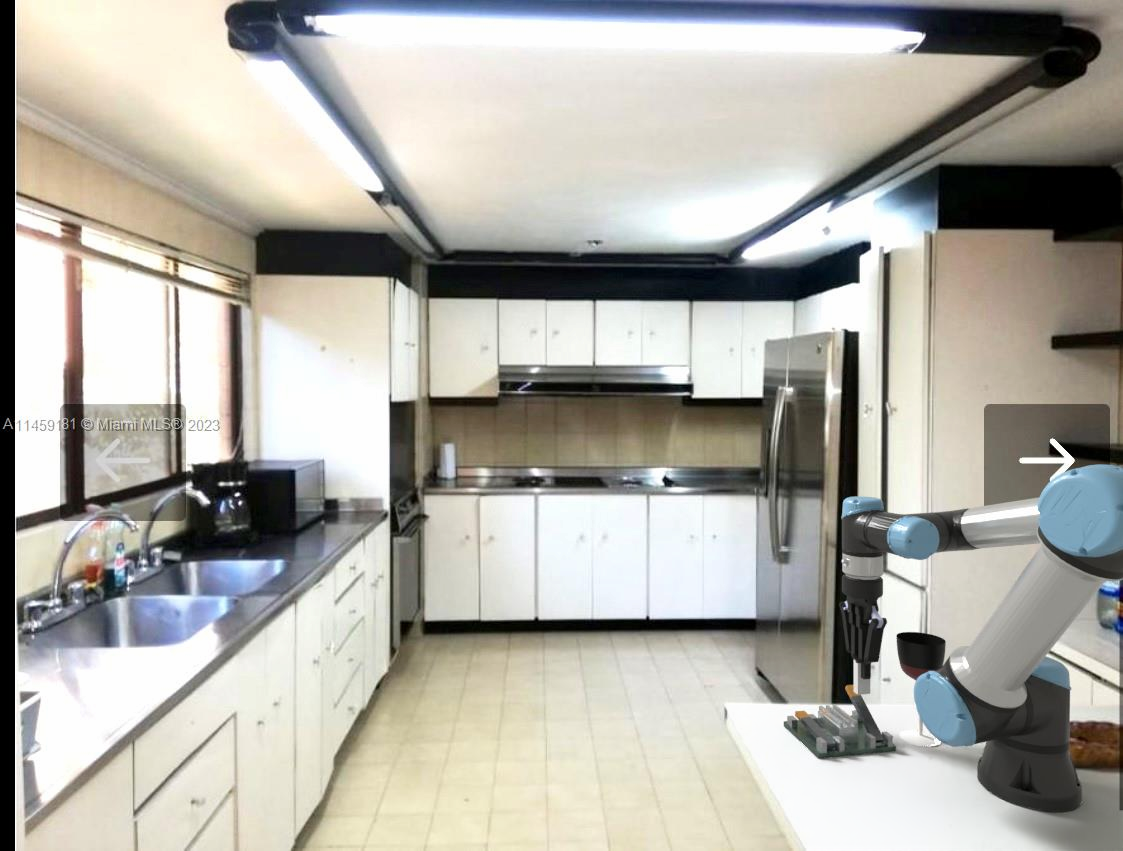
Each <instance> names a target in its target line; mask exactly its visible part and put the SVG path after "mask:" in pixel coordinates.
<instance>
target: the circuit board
mask: <svg viewBox="0 0 1123 851" xmlns="http://www.w3.org/2000/svg"><path fill="white" fill-rule="evenodd" d="M807 714H808V715H809V716H810V717H811V718H812V719H813V720H814V721H815V722H816V723H817V724H818V725H819V726H820V727H821V728H822V730H823V731H824V732H825V733H826V734H827V735H828V736H829V737H830V738H831V739H832V740H833V741H834V742H835V748H830V749H827V742H826V741H825V740H824V739H823V738H821V737H820V738H815V737H814V736H813V735H812V734H811V733H810V732H809V731H808V729H807V728H806V727H805V726H804V725H803V724H802V723H801V722H800V721H799V720H798V719H797V717H796V716H795V715H787V716H786V719H787V720H785V721H783V727H784V728H785V729H786V730H787V731H788V732H789V733H791V734H792V736H794V737H795V739H797V740H798V741H799V742H800V741H801V742H802V743H803V744H804V745H805V746H806V747H807V748H808V751H809V752H810V753H812V754H813V756H815V757H816V758H817V759H818V760H820V758H821V759H829V758H830V757H832V758H841V757H851V756H861V755H870V754H871V755H872V754H881V753H892V752H897V745H896V744H894V736H893V735H892V734H890V733H889V732H888V731H881V734H882V736H883V738H884V741H883V742H882V743H876V738H875V737H874V736H873V735H871V734H870V733H868V732H867V730H866V729H865V727H864V725H863V723H862V721H861V719H860V717H859V715H858V713H857V711H856V709H854V710H851V715H850V714H848V713H847V712H846V711H844V710H843V709H842V708H841V707H839V706H838V705H836V704H832V706H830V705H829V704H827V705H825V707H824V706H823V705H818V710H817V715H815V714H814V713H807ZM801 742H800V743H801ZM802 743H801V744H802ZM803 744H802V745H803ZM804 745H803V746H804ZM805 746H804V747H805ZM806 747H805V748H806ZM807 748H806V749H807Z"/></svg>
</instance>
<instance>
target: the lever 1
mask: <svg viewBox="0 0 1123 851" xmlns="http://www.w3.org/2000/svg"><path fill="white" fill-rule="evenodd" d="M808 714H809V713H807V711H806V710H795V712H794V717H795V718H796V719H797V720H799V721H800V722H801V723H802V724H803V725H804V726H805V727H806V728H807V729H808V731H809V732H810V733H811V734H812V735H813V736H814V737H815V738H820V737H821V738H823V739H824V740H825V741H826V742H827V749H830V748H835V742H834V741H833V740H832V739H831V738H830V737H829V736H828V735H827V734H826V733H825V732H824V731H823V730H822V728H821V727H820V726H819V725H818V724H817V723H816V722H815V721H814V720H813V719H812V718H811V717H810V716H809V715H808Z"/></svg>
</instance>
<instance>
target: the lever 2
mask: <svg viewBox="0 0 1123 851" xmlns="http://www.w3.org/2000/svg"><path fill="white" fill-rule="evenodd" d="M844 689H845V692H846V693H847V695H848V697H849V700H850V701H851V703H852V705H853V706H854V710H856V711H857V713H858V715H859V717H860V719H861V721H862V723H863V725H864V727H865V729H866V730H867V732H868V733H870V734H871V735H873V736H874V737H875V738H876V743H882V742H883V741H884V738H883V736H882V731H881V730H880V729H879V726H878V725H877V723H876V721H875V719H874V716H873V715H872V713H871V711H870V709H869V707H868V706H867V703H866V702H865V700H864V698H863V696H862V694H860V695H857V694H856V693H855V692H854V684H847V685H846V686H845V688H844Z"/></svg>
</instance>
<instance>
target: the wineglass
mask: <svg viewBox="0 0 1123 851" xmlns="http://www.w3.org/2000/svg"><path fill="white" fill-rule="evenodd" d="M895 637H896V650H897V651H896V652H897V656H898V661H899V665H900V668H901V670H902V672H903V673H904V674H905V675H906V676H908V677H909V678H911V679H913V680H914V681H916V680H917V678H918V677H919V676H920V675H922V674H924V673H926V672H928V671H938V670H939V669H941V668H942V666H943V665H944V663H945V655H946V647H947V646H946V640H945V639H944V638H943V637H941V636H938V635H935V634H931V633H926V632H917V631H916V632H915V631H905V632H904V631H903V632H898V633H897V634H896V636H895ZM917 714H918V713H917ZM917 720H918V721H917V723H918V730H917V729H906V730H902V731H901V732H900V733H899V737H900V739H901V740H903V741H904V742H906V743H908V744H909V745H912V746H917V747H921V746H923V747H922V748H927V747H926V746H927V745H928V746H930V745H931V744H935V742H934V739H936V738H934V737H933V736H932V735H931V734H928V733H929V732H928V733H926V732H927V731H924V730H923V727H924V723H923V722H922V720H921V718H920V716H919V714H918V718H917ZM907 730H908V731H907ZM923 731H924V732H923ZM924 746H925V747H924Z"/></svg>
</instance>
